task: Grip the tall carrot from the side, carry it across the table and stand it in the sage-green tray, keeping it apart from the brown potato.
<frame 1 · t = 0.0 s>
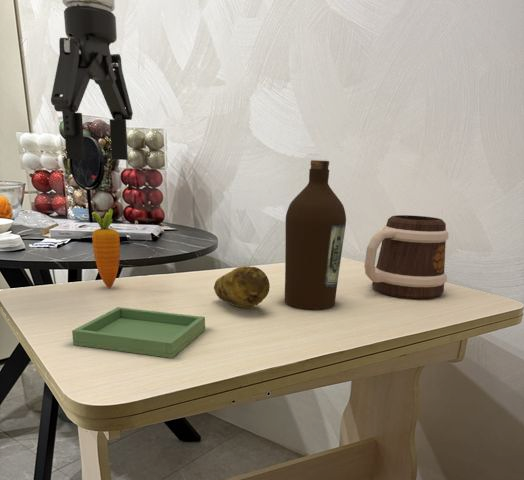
hand: (99, 159, 86), 24 cm above the table, tool pointing down, fingers open, 13 cm apart
mug: (398, 293, 108), on the table
olive oil: (309, 304, 97), on the table
carrot: (109, 289, 102), on the table
green tray: (142, 337, 76), on the table
potato: (240, 309, 92), on the table
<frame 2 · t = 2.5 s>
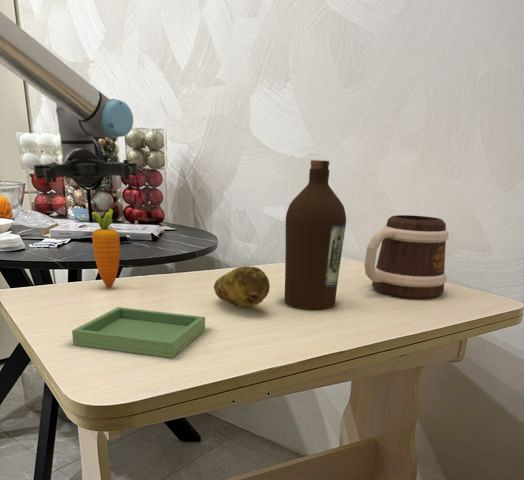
hand: (90, 173, 100), 21 cm above the table, tool horizontal, fingers open, 13 cm apart
nothing on the table moved.
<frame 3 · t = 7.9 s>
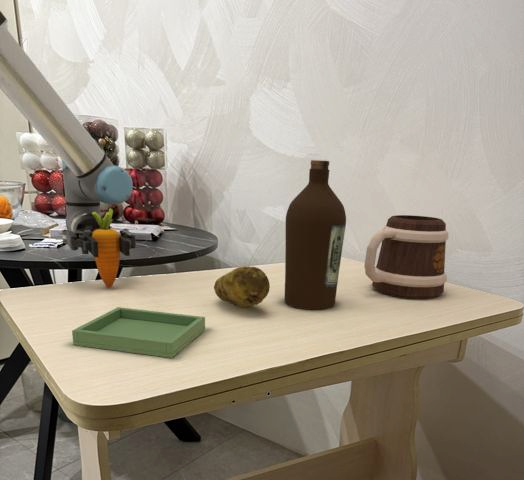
hand: (111, 248, 94), 8 cm above the table, tool horizontal, fingers closed on carrot, 5 cm apart
carrot: (109, 289, 102), on the table, touching gripper
everything else where it was.
when the fingers open (9 cm above the table, at t = 18.1 s): carrot stays where it is, resting on green tray.
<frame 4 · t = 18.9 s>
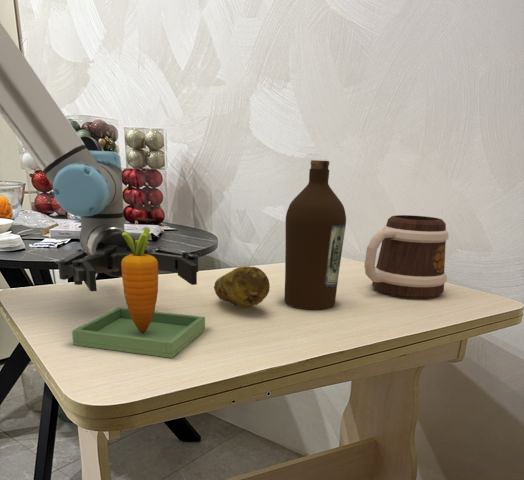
hand: (145, 278, 69), 9 cm above the table, tool horizontal, fingers open, 13 cm apart
carrot: (142, 334, 75), resting on green tray
everything else where it was.
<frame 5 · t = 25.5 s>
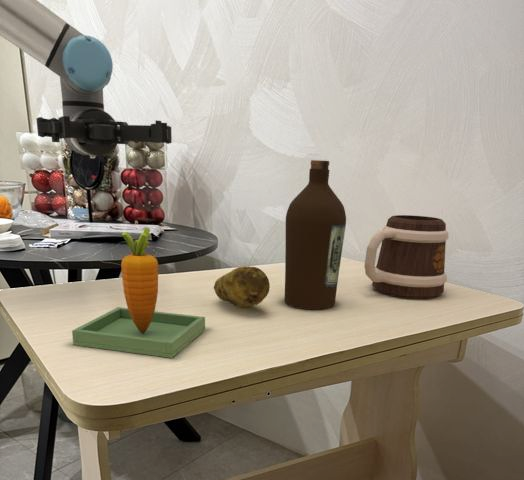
hand: (118, 130, 74), 28 cm above the table, tool horizontal, fingers open, 13 cm apart
nothing on the table moved.
at the end: carrot inside the target area in the green tray (0.0 cm from its centre), point 0.4 cm above the green tray's base; carrot tilted 0°; the gripper is holding nothing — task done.
